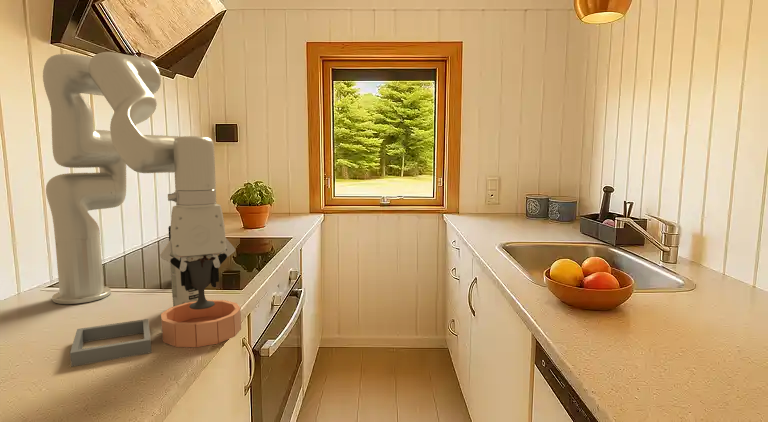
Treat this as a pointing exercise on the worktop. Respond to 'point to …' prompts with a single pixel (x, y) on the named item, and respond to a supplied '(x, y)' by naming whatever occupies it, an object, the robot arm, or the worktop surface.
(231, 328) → the bowl
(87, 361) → the gray square frame
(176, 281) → the spray can
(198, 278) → the sundae
